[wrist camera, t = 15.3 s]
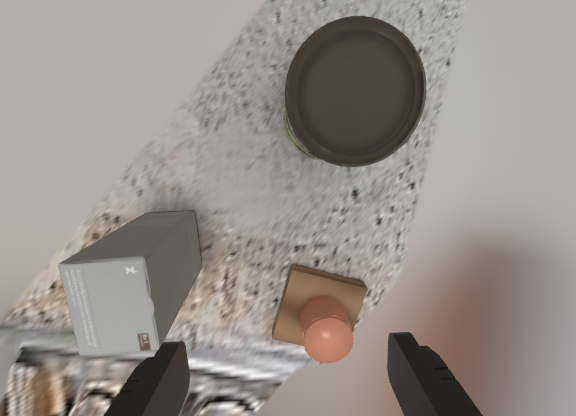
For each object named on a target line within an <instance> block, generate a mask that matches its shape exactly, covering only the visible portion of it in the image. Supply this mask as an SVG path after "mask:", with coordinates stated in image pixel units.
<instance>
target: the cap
mask: <svg viewBox="0 0 576 416" xmlns="http://www.w3.org/2000/svg"><path fill="white" fill-rule="evenodd" d="M300 317H301V325H302V334H303V340H304V347H305V351H306V352H307V353H308V355H309V356H310V357H311V358H313V359H314V360H316V361H319V362H322V363H333V362H336V361H339V360H341V359H343V358H344V357H345V356H346V355H347V354H348V353H349V352H350V350H351V348H352V345H353V335H352V330H351V325H350V322H349V320H348V317H347V315H346V312H345V310H344V307H343V305H342V304H340V303H339V302H337V301H336V300H334V299H333V298H332V297H330V296H322V297H315V298H310V300H309V301H308V302H307V303H306V305H305V306H304V307H303V308H302V309H301V311H300Z"/></svg>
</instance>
